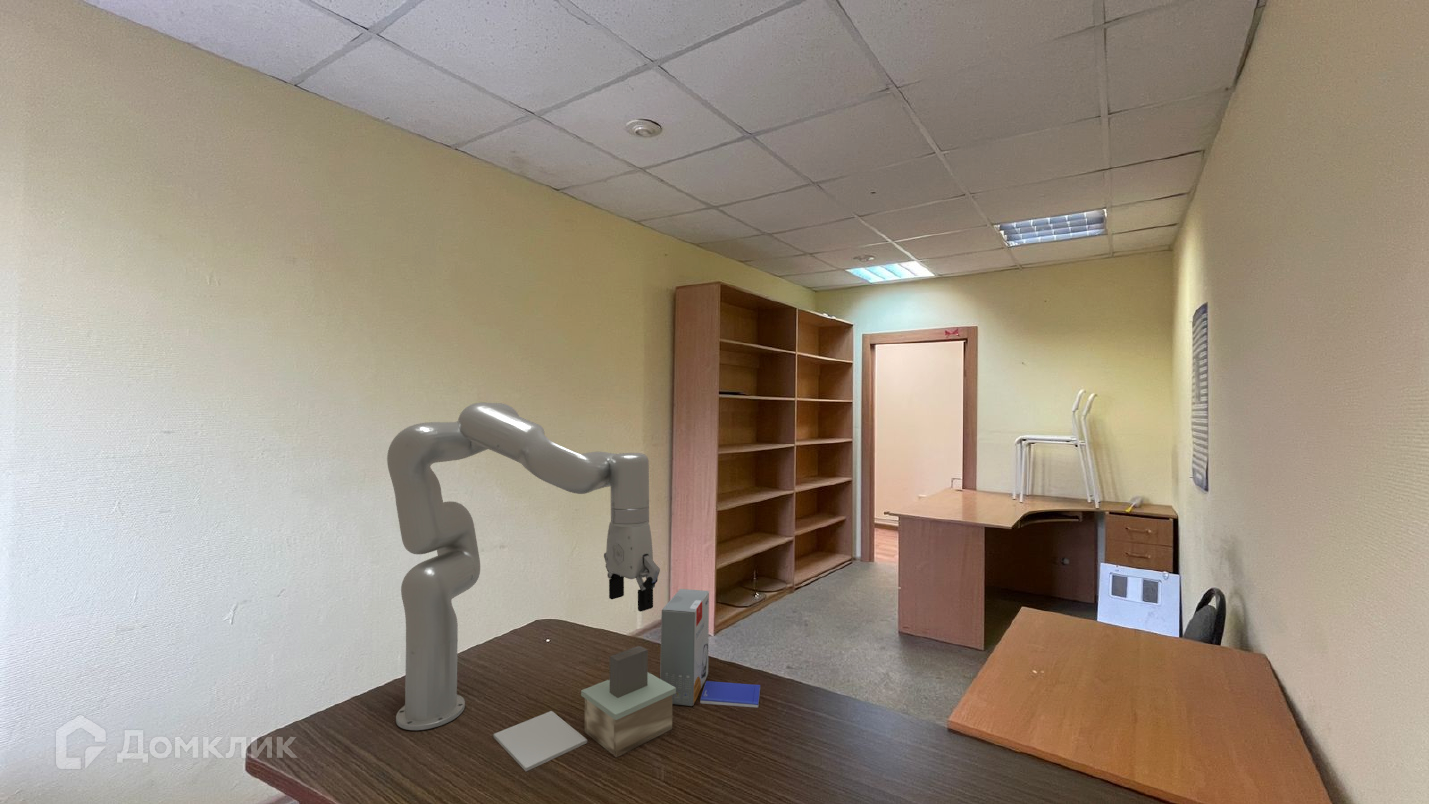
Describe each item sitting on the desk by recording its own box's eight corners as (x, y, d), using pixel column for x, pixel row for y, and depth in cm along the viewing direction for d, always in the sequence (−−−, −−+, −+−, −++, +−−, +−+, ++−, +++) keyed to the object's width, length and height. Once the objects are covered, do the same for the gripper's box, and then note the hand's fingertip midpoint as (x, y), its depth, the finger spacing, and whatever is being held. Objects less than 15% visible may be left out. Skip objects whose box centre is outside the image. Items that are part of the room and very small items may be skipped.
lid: (581, 700, 107) (581, 654, 107) (639, 677, 116) (639, 634, 117) (615, 726, 98) (615, 675, 98) (675, 698, 108) (676, 651, 108)
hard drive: (700, 698, 117) (758, 702, 116) (706, 680, 125) (760, 683, 124) (700, 705, 117) (758, 710, 116) (706, 686, 125) (760, 691, 124)
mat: (493, 737, 105) (493, 734, 105) (551, 713, 113) (551, 710, 113) (525, 771, 95) (525, 768, 95) (587, 743, 103) (587, 739, 103)
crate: (584, 732, 106) (584, 695, 107) (639, 707, 115) (639, 673, 116) (616, 757, 99) (616, 718, 99) (672, 729, 108) (672, 692, 108)
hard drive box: (693, 708, 115) (694, 612, 116) (659, 704, 117) (659, 609, 117) (709, 673, 131) (709, 589, 131) (678, 670, 132) (678, 587, 133)
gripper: (590, 513, 112) (590, 597, 111) (640, 524, 99) (641, 620, 99) (621, 508, 117) (621, 589, 116) (672, 518, 104) (673, 609, 104)
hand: (630, 603), depth 108 cm, fingers open, 9 cm apart
